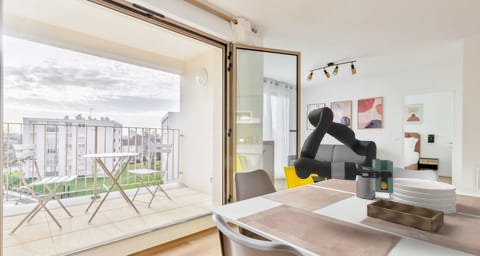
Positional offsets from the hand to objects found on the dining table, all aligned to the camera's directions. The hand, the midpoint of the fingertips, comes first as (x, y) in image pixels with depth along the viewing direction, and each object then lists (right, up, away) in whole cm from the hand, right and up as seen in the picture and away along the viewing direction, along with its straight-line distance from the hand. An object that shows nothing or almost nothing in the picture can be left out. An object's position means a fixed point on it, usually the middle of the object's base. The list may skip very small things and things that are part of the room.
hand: (389, 173), depth 93 cm
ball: (-3, -5, -1) cm, 5 cm away
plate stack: (+37, -23, +32) cm, 54 cm away
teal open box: (-2, -7, +1) cm, 8 cm away
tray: (+13, -22, +10) cm, 27 cm away
